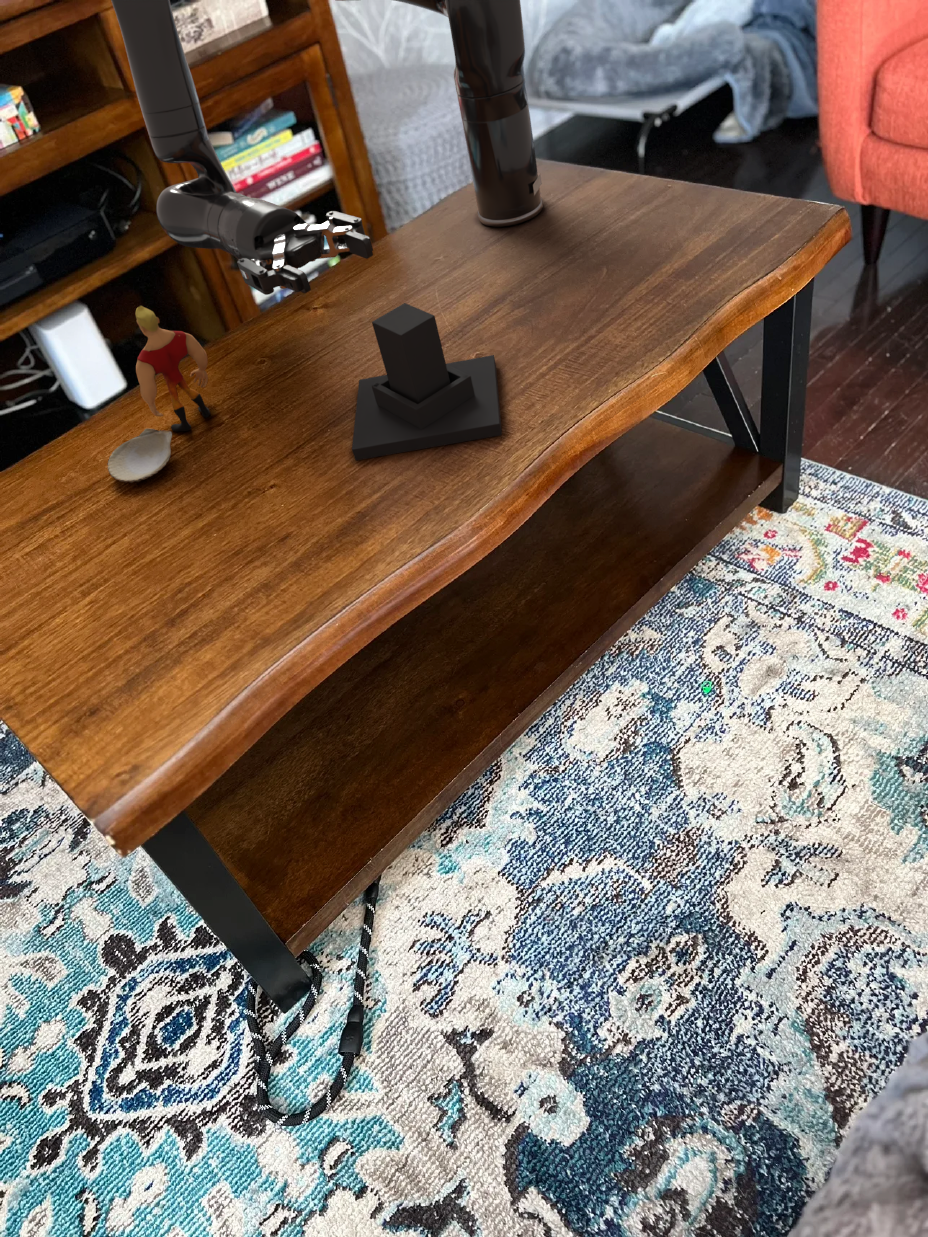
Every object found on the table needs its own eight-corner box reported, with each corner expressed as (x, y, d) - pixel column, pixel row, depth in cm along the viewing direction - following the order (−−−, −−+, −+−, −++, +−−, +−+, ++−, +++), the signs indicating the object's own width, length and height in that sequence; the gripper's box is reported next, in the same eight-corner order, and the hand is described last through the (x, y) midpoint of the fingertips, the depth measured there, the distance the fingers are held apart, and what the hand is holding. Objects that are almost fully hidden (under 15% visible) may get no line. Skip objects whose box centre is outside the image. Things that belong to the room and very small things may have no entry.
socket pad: (362, 390, 113) (353, 360, 110) (496, 365, 111) (490, 334, 108) (355, 460, 103) (345, 430, 100) (502, 435, 101) (495, 403, 98)
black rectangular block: (394, 402, 107) (371, 321, 100) (425, 383, 108) (404, 302, 101) (422, 418, 104) (400, 335, 97) (454, 398, 105) (434, 315, 98)
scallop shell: (113, 492, 111) (151, 493, 106) (94, 473, 109) (132, 473, 104) (154, 441, 115) (193, 439, 110) (136, 422, 113) (175, 420, 108)
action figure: (214, 397, 119) (164, 283, 108) (231, 403, 117) (183, 289, 106) (154, 438, 114) (96, 325, 104) (171, 446, 112) (114, 331, 102)
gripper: (200, 230, 109) (272, 261, 99) (301, 178, 114) (380, 203, 104) (224, 291, 114) (296, 327, 104) (320, 239, 119) (397, 269, 109)
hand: (338, 265), depth 104 cm, fingers open, 8 cm apart
